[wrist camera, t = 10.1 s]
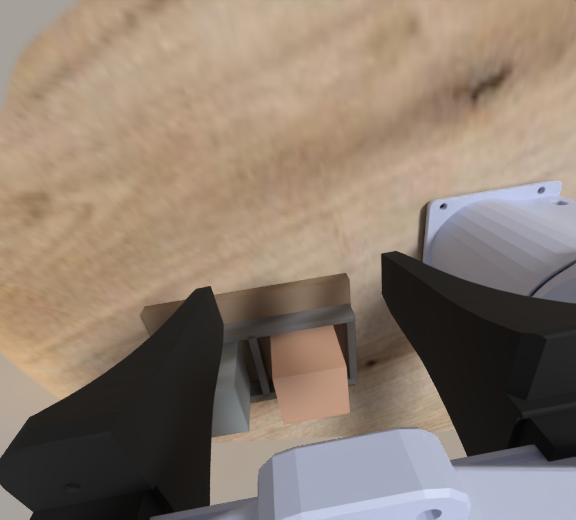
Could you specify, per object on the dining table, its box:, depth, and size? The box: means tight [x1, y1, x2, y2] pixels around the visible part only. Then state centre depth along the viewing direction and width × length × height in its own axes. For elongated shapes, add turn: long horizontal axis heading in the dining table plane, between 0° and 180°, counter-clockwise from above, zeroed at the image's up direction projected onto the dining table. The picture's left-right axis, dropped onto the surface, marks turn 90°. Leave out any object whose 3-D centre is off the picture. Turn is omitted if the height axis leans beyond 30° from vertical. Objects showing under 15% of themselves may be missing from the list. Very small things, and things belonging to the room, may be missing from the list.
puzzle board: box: [141, 273, 357, 438], centre depth 24 cm, size 16×12×6 cm
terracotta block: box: [270, 325, 350, 425], centre depth 23 cm, size 5×5×5 cm
